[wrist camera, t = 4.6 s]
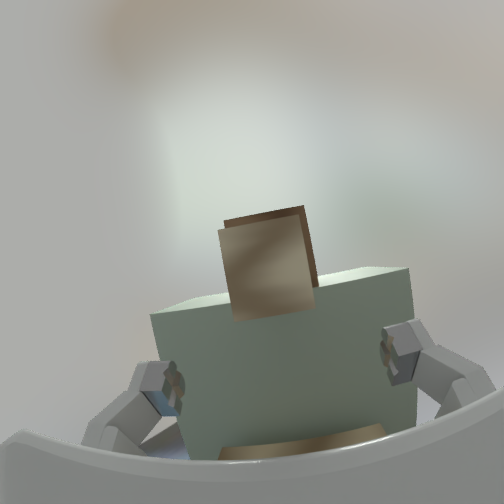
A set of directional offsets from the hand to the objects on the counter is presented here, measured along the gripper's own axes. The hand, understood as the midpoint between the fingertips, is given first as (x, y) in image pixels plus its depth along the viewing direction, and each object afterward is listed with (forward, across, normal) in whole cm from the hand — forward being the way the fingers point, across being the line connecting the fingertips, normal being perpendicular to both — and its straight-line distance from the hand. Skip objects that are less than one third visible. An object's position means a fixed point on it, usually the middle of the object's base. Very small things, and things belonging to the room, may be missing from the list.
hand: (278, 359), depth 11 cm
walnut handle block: (+9, 0, +4) cm, 10 cm away
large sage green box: (+2, 0, +29) cm, 29 cm away
